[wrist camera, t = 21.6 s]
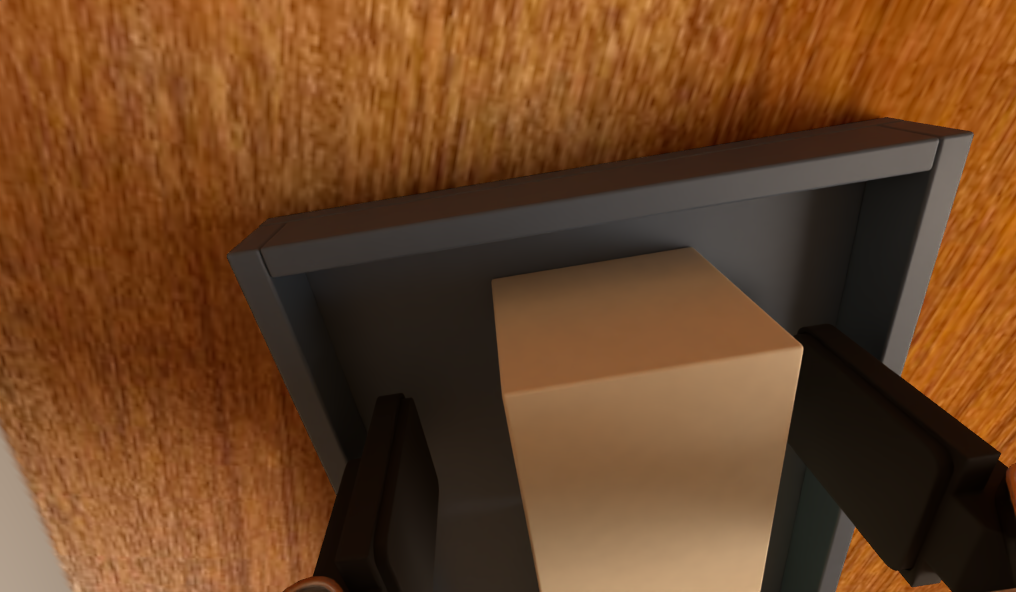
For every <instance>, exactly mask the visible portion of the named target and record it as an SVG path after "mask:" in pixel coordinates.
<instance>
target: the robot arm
mask: <svg viewBox="0 0 1016 592" xmlns="http://www.w3.org/2000/svg"><path fill="white" fill-rule="evenodd" d="M793 337H794V338H795V339H796V340H797V341H798V342H799V343H800V344H801V345H802V346H803V355H802V360H801V366H800V371H799V377H798V383H797V388H796V394H795V400H794V405H793V411H792V416H791V422H790V428H789V433H788V439H787V443H788V444H789V445H790V446H791V448H792V449H793V450H794V451H795V453H796V454H797V455H798V456H799V457H800V459H801V460H802V461H803V462H804V464H805V465H806V466H807V467H808V469H809V470H810V471H811V472H812V474H813V475H814V476H815V477H816V479H817V480H818V481H819V482H820V483H821V485H822V486H823V487H824V488H825V490H826V491H827V492H828V493H829V495H830V496H831V497H832V498H833V500H834V501H835V502H836V503H837V505H838V506H839V507H840V508H841V509H842V511H843V512H844V513H845V514H846V516H847V517H848V518H849V519H850V521H851V522H852V523H853V524H854V526H855V527H856V528H857V529H858V531H859V532H860V533H861V534H862V535H863V537H864V538H865V539H866V540H867V542H868V543H869V544H870V545H871V547H872V548H873V549H874V550H875V552H876V553H877V554H878V555H879V557H880V558H881V559H882V560H883V561H884V563H885V564H886V565H887V566H888V567H890V568H891V569H893V570H895V571H897V570H898V571H899V572H900V573H901V575H902V576H903V577H904V578H905V580H906V581H907V582H908V583H909V584H910V586H911V587H917V586H923V585H929V584H936V583H940V581H941V580H942V581H943V582H944V583H945V584H946V585H947V586H948V587H949V589H950V590H951V591H952V592H1016V463H1015V464H1012V465H1011V466H1010V467H1009V468H1008V467H1007V466H1005V465H1004V464H1003V463H1002V462H1000V461H999V460H998V459H999V457H1000V455H1001V453H1000V452H999V451H997V450H996V449H995V448H993V447H992V446H991V445H989V444H988V443H987V442H985V441H984V440H983V439H982V438H980V437H979V436H978V435H976V434H975V433H974V432H972V431H971V430H970V429H968V428H967V427H966V426H964V425H963V424H962V423H961V422H959V421H958V420H957V419H955V418H954V417H953V416H951V415H950V414H949V413H947V412H946V411H945V410H943V409H942V408H941V407H940V406H938V405H937V404H936V403H934V402H933V401H932V400H930V399H929V398H928V397H926V396H925V395H924V394H922V393H921V392H920V391H918V390H917V389H916V388H915V387H913V386H912V385H911V384H909V383H908V382H907V381H905V380H904V379H903V378H901V377H900V376H899V375H897V374H896V373H895V372H894V371H892V370H891V369H890V368H888V367H887V366H886V365H884V364H883V363H882V362H880V361H879V360H878V359H876V358H875V357H874V356H873V355H871V354H870V353H869V352H867V351H866V350H865V349H863V348H862V347H861V346H859V345H858V344H857V343H855V342H854V341H853V340H852V339H850V338H849V337H848V336H846V335H845V334H844V333H842V332H841V331H840V330H838V329H837V328H836V327H834V326H833V325H831V324H827V323H825V324H819V325H813V326H807V327H802V328H800V329H799V330H798V332H797V335H794V336H793ZM438 502H439V483H438V477H437V474H436V470H435V467H434V464H433V461H432V457H431V454H430V451H429V448H428V444H427V441H426V438H425V435H424V431H423V428H422V425H421V422H420V418H419V415H418V412H417V409H416V405H415V402H414V399H413V398H412V397H411V398H405V395H404V394H403V393H397V394H390V395H384V396H379V397H378V398H377V400H376V404H375V407H374V411H373V415H372V419H371V423H370V427H369V430H368V434H367V438H366V442H365V446H364V449H363V453H362V457H361V458H357V459H351V460H349V461H348V462H347V464H346V467H345V469H344V472H343V476H342V479H341V483H340V486H339V489H338V493H337V496H336V500H335V503H334V506H333V510H332V513H331V517H330V520H329V523H328V527H327V530H326V534H325V537H324V540H323V544H322V547H321V551H320V554H319V557H318V561H317V564H316V568H315V571H314V574H313V577H309V578H306V579H303V580H300V581H298V582H296V583H294V584H293V585H291V586H290V587H288V588H286V589H285V590H284V591H283V592H433V578H434V562H435V547H436V532H437V517H438Z"/></svg>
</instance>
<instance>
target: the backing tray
mask: <svg viewBox="0 0 1016 592" xmlns="http://www.w3.org/2000/svg"><path fill="white" fill-rule="evenodd" d="M973 136H974V135H973V133H972V132H970V131H964V130H958V129H952V128H946V127H940V126H934V125H928V124H922V123H916V122H910V121H904V120H900V119H894V118H888V117H885V118H879V119H873V120H867V121H861V122H855V123H849V124H842V125H836V126H830V127H824V128H818V129H812V130H806V131H800V132H794V133H788V134H781V135H775V136H769V137H763V138H757V139H751V140H745V141H739V142H733V143H727V144H720V145H714V146H708V147H702V148H696V149H690V150H684V151H678V152H672V153H666V154H659V155H653V156H647V157H641V158H635V159H629V160H623V161H617V162H611V163H604V164H598V165H592V166H586V167H580V168H574V169H568V170H562V171H556V172H550V173H543V174H537V175H531V176H525V177H519V178H513V179H507V180H501V181H495V182H489V183H482V184H476V185H470V186H464V187H458V188H452V189H446V190H440V191H434V192H428V193H421V194H415V195H409V196H403V197H397V198H391V199H385V200H379V201H373V202H367V203H360V204H354V205H348V206H342V207H336V208H330V209H324V210H318V211H312V212H306V213H299V214H293V215H287V216H281V217H275V218H269V219H267V220H266V221H265V222H263V223H262V224H261V225H260V226H259V228H257V229H256V230H255V231H254V232H252V233H251V234H250V235H249V236H248V237H247V238H245V239H244V240H243V241H242V242H241V243H239V244H238V245H237V246H236V247H235V248H234V249H232V250H231V251H230V252H229V253H228V254H227V259H228V261H229V263H230V265H231V268H232V270H233V272H234V274H235V276H236V278H237V281H238V283H239V285H240V287H241V289H242V291H243V294H244V296H245V298H246V300H247V302H248V304H249V307H250V309H251V311H252V313H253V315H254V317H255V320H256V322H257V324H258V326H259V328H260V330H261V333H262V335H263V337H264V339H265V341H266V344H267V346H268V348H269V350H270V352H271V354H272V357H273V359H274V361H275V363H276V365H277V367H278V370H279V372H280V374H281V376H282V378H283V380H284V383H285V385H286V387H287V389H288V391H289V393H290V396H291V398H292V400H293V402H294V404H295V406H296V409H297V411H298V413H299V415H300V417H301V420H302V422H303V424H304V426H305V428H306V430H307V433H308V435H309V437H310V439H311V441H312V443H313V446H314V448H315V450H316V452H317V454H318V456H319V459H320V461H321V463H322V465H323V467H324V469H325V472H326V474H327V476H328V478H329V480H330V482H331V485H332V487H333V489H334V491H335V493H336V496H337V493H338V489H339V486H340V483H341V479H342V476H343V472H344V469H345V467H346V464H347V462H348V461H349V460H351V459H357V458H361V457H362V453H363V449H364V446H365V442H366V438H367V434H368V430H369V427H370V423H371V419H372V415H373V411H374V407H375V404H376V400H377V398H378V397H379V396H384V395H390V394H397V393H403V394H404V395H405V398H411V397H412V398H413V399H414V402H415V405H416V409H417V412H418V415H419V418H420V422H421V425H422V428H423V431H424V435H425V438H426V441H427V444H428V448H429V451H430V454H431V457H432V461H433V464H434V467H435V470H436V474H437V477H438V483H439V502H438V517H437V532H436V547H435V562H434V578H433V592H540V591H539V586H538V580H537V575H536V570H535V565H534V560H533V554H532V549H531V544H530V539H529V534H528V528H527V523H526V518H525V513H524V508H523V502H522V497H521V492H520V487H519V482H518V476H517V471H516V466H515V461H514V456H513V450H512V445H511V440H510V435H509V430H508V424H507V419H506V414H505V409H504V404H503V399H502V391H501V380H500V369H499V359H498V348H497V337H496V327H495V316H494V305H493V295H492V284H491V282H492V280H493V279H497V278H503V277H509V276H515V275H521V274H527V273H534V272H540V271H546V270H552V269H558V268H564V267H570V266H577V265H583V264H589V263H595V262H601V261H607V260H614V259H620V258H626V257H632V256H638V255H644V254H651V253H657V252H663V251H669V250H675V249H681V248H687V247H693V248H694V249H695V250H696V251H697V252H698V253H699V254H701V255H702V256H703V257H704V258H705V259H706V260H707V261H708V262H710V263H711V264H712V265H713V266H714V267H715V268H716V269H717V270H719V271H720V272H721V273H722V274H723V275H724V276H725V277H726V278H728V279H729V280H730V281H731V282H732V283H733V284H734V285H735V286H736V287H738V288H739V289H740V290H741V291H742V292H743V293H744V294H745V295H747V296H748V297H749V298H750V299H751V300H752V301H753V302H754V303H756V304H757V305H758V306H759V307H760V308H761V309H762V310H763V311H764V312H766V313H767V314H768V315H769V316H770V317H771V318H772V319H773V320H775V321H776V322H777V323H778V324H779V325H780V326H781V327H782V328H784V329H785V330H786V331H787V332H788V333H789V334H790V335H791V336H794V335H797V332H798V330H799V329H800V328H802V327H807V326H813V325H819V324H825V323H827V324H831V325H833V326H834V327H836V328H837V329H838V330H840V331H841V332H842V333H844V334H845V335H846V336H848V337H849V338H850V339H852V340H853V341H854V342H855V343H857V344H858V345H859V346H861V347H862V348H863V349H865V350H866V351H867V352H869V353H870V354H871V355H873V356H874V357H875V358H876V359H878V360H879V361H880V362H882V363H883V364H884V365H886V366H887V367H888V368H890V369H891V370H892V371H894V372H895V373H896V374H897V375H899V376H900V377H901V373H902V370H903V367H904V364H905V360H906V357H907V354H908V350H909V347H910V344H911V340H912V337H913V334H914V330H915V327H916V324H917V321H918V317H919V314H920V311H921V307H922V304H923V301H924V297H925V294H926V291H927V288H928V284H929V281H930V278H931V274H932V271H933V268H934V264H935V261H936V258H937V255H938V251H939V248H940V245H941V241H942V238H943V235H944V231H945V228H946V225H947V221H948V218H949V215H950V212H951V208H952V205H953V202H954V198H955V195H956V192H957V188H958V185H959V182H960V179H961V175H962V172H963V169H964V165H965V162H966V159H967V155H968V152H969V149H970V146H971V142H972V139H973ZM854 529H855V526H854V524H853V523H852V522H851V521H850V519H849V518H848V517H847V516H846V514H845V513H844V512H843V511H842V509H841V508H840V507H839V506H838V505H837V503H836V502H835V501H834V500H833V498H832V497H831V496H830V495H829V493H828V492H827V491H826V490H825V488H824V487H823V486H822V485H821V483H820V482H819V481H818V480H817V479H816V477H815V476H814V475H813V474H812V472H811V471H810V470H809V469H808V467H807V466H806V465H805V464H804V462H803V461H802V460H801V459H800V457H799V456H798V455H797V454H796V453H795V451H794V450H793V449H792V448H791V446H790V445H789V444H788V443H787V444H786V450H785V456H784V461H783V467H782V473H781V478H780V484H779V489H778V495H777V501H776V506H775V512H774V518H773V523H772V529H771V534H770V540H769V546H768V551H767V557H766V563H765V568H764V574H763V579H762V585H761V591H760V592H835V591H836V588H837V585H838V582H839V578H840V575H841V572H842V568H843V565H844V562H845V558H846V555H847V552H848V548H849V545H850V542H851V539H852V535H853V532H854Z"/></svg>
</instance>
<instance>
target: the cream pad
mask: <svg viewBox="0 0 1016 592" xmlns="http://www.w3.org/2000/svg"><path fill="white" fill-rule="evenodd" d="M491 284H492V295H493V305H494V316H495V327H496V337H497V348H498V359H499V369H500V380H501V391H502V399H503V404H504V409H505V414H506V419H507V424H508V430H509V435H510V440H511V445H512V450H513V456H514V461H515V466H516V471H517V476H518V482H519V487H520V492H521V497H522V502H523V508H524V513H525V518H526V523H527V528H528V534H529V539H530V544H531V549H532V554H533V560H534V565H535V570H536V575H537V580H538V586H539V591H540V592H760V591H761V585H762V579H763V574H764V568H765V563H766V557H767V551H768V546H769V540H770V534H771V529H772V523H773V518H774V512H775V506H776V501H777V495H778V489H779V484H780V478H781V473H782V467H783V461H784V456H785V450H786V444H787V439H788V433H789V428H790V422H791V416H792V411H793V405H794V400H795V394H796V388H797V383H798V377H799V371H800V366H801V360H802V355H803V346H802V345H801V344H800V343H799V342H798V341H797V340H796V339H795V338H794V337H793V336H791V335H790V334H789V333H788V332H787V331H786V330H785V329H784V328H782V327H781V326H780V325H779V324H778V323H777V322H776V321H775V320H773V319H772V318H771V317H770V316H769V315H768V314H767V313H766V312H764V311H763V310H762V309H761V308H760V307H759V306H758V305H757V304H756V303H754V302H753V301H752V300H751V299H750V298H749V297H748V296H747V295H745V294H744V293H743V292H742V291H741V290H740V289H739V288H738V287H736V286H735V285H734V284H733V283H732V282H731V281H730V280H729V279H728V278H726V277H725V276H724V275H723V274H722V273H721V272H720V271H719V270H717V269H716V268H715V267H714V266H713V265H712V264H711V263H710V262H708V261H707V260H706V259H705V258H704V257H703V256H702V255H701V254H699V253H698V252H697V251H696V250H695V249H694V248H693V247H687V248H681V249H675V250H669V251H663V252H657V253H651V254H644V255H638V256H632V257H626V258H620V259H614V260H607V261H601V262H595V263H589V264H583V265H577V266H570V267H564V268H558V269H552V270H546V271H540V272H534V273H527V274H521V275H515V276H509V277H503V278H497V279H493V280H492V282H491Z"/></svg>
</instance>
